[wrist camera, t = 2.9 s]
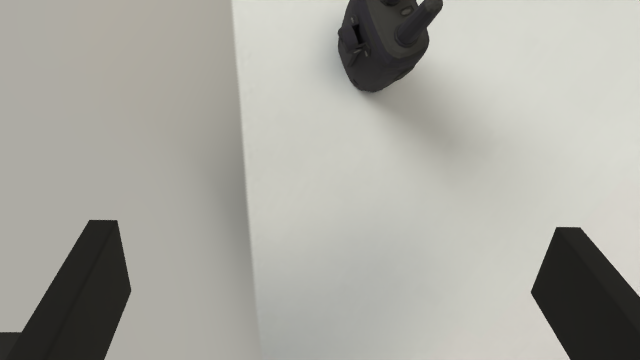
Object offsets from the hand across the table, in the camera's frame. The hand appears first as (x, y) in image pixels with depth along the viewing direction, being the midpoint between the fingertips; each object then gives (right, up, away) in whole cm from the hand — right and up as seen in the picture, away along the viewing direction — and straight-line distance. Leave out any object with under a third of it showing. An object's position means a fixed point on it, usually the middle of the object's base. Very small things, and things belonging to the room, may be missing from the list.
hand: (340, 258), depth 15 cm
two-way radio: (+2, +11, +20) cm, 23 cm away
